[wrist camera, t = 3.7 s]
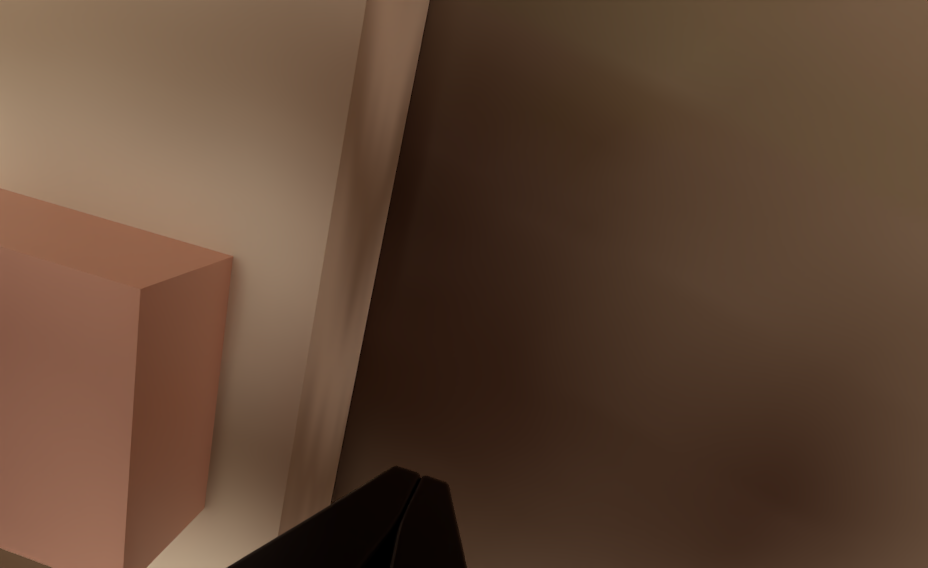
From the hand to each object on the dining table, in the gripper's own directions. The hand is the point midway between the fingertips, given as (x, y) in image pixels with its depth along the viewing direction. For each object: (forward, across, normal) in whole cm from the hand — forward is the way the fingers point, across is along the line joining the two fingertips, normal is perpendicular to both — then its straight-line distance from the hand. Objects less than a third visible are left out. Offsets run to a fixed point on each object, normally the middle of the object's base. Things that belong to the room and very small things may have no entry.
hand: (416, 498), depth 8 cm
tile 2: (+1, +6, 0) cm, 6 cm away
